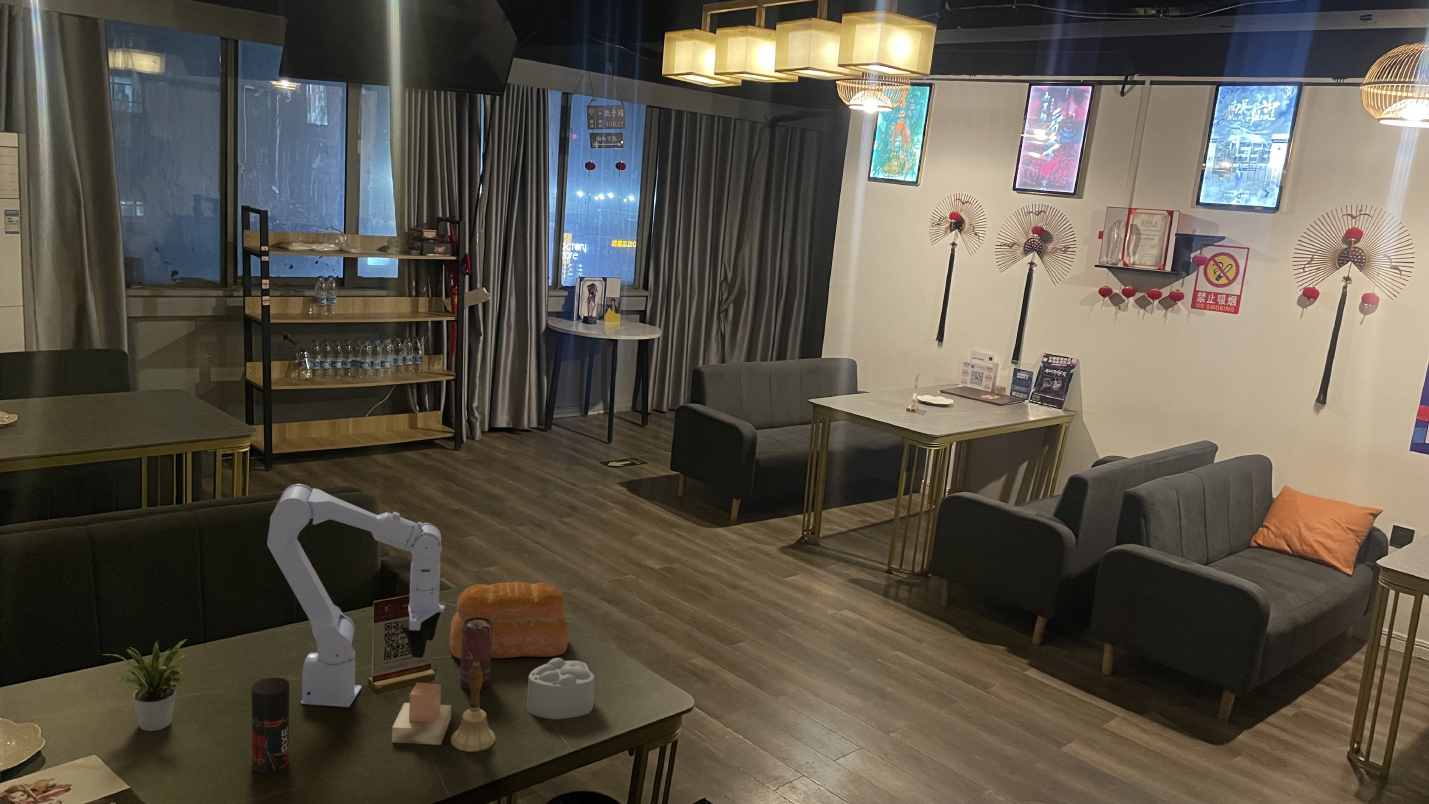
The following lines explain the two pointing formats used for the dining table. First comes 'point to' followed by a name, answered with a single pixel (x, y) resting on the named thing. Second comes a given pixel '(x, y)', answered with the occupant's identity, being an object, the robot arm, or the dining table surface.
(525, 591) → the bread
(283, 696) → the deodorant
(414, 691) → the terracotta block
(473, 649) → the can
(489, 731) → the hand bell
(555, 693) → the lumpy-topped squat cylinder
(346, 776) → the dining table surface
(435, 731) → the beech block
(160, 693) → the house plant
